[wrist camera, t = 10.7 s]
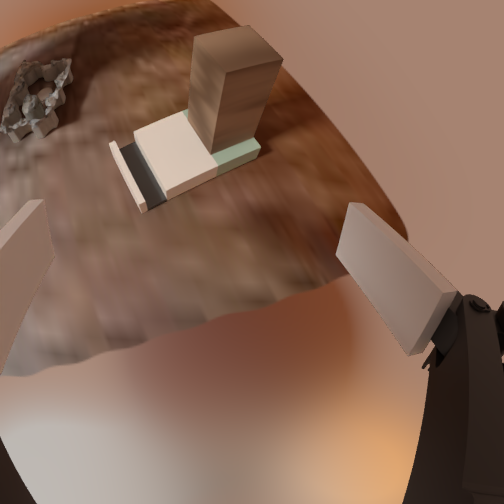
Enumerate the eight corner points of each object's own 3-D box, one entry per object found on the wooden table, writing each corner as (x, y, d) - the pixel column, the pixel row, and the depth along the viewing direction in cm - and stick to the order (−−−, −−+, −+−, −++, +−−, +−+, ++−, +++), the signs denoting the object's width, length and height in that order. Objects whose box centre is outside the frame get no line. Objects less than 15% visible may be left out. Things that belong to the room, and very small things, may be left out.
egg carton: (32, 78, 27) (23, 57, 23) (82, 71, 29) (75, 48, 25) (2, 146, 24) (-14, 126, 21) (55, 141, 26) (42, 117, 22)
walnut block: (187, 119, 27) (194, 36, 17) (228, 104, 28) (249, 25, 19) (210, 155, 26) (226, 72, 17) (253, 137, 28) (283, 58, 18)
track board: (112, 155, 27) (108, 143, 25) (220, 108, 30) (223, 96, 28) (141, 213, 26) (138, 204, 24) (256, 158, 29) (261, 147, 28)
